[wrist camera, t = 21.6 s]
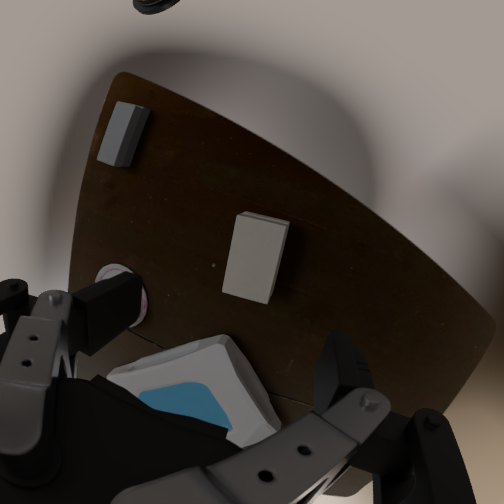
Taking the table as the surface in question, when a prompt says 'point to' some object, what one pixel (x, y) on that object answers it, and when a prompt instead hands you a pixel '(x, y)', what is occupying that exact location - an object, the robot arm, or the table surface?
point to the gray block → (123, 134)
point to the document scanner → (204, 387)
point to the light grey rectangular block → (254, 257)
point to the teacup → (115, 270)
